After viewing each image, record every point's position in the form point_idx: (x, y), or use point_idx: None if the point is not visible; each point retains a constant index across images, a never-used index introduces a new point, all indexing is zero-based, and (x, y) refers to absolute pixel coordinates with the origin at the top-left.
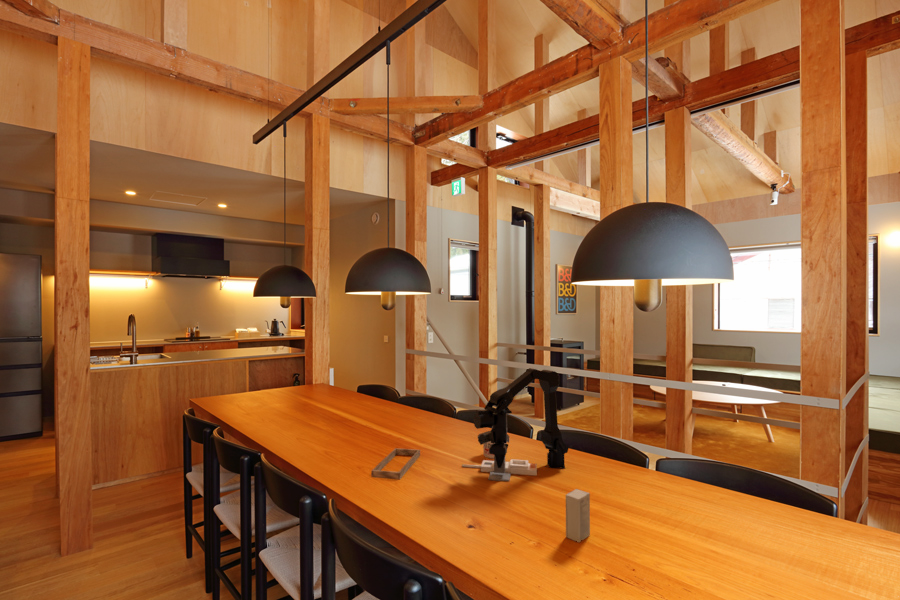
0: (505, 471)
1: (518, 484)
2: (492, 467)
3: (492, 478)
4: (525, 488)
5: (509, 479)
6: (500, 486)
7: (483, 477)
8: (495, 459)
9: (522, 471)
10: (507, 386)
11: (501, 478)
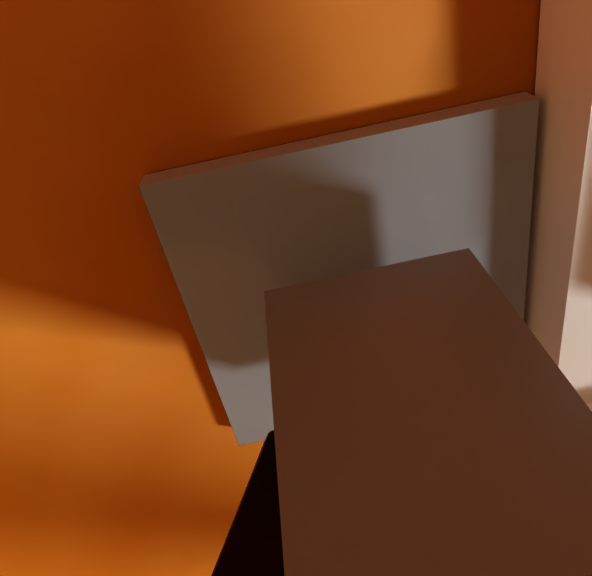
0: (533, 329)
1: (202, 509)
2: (580, 154)
3: (168, 252)
4: (136, 569)
5: (252, 441)
6: (15, 395)
7: (215, 40)
8: (294, 560)
9: None
10: None
11: (239, 360)
